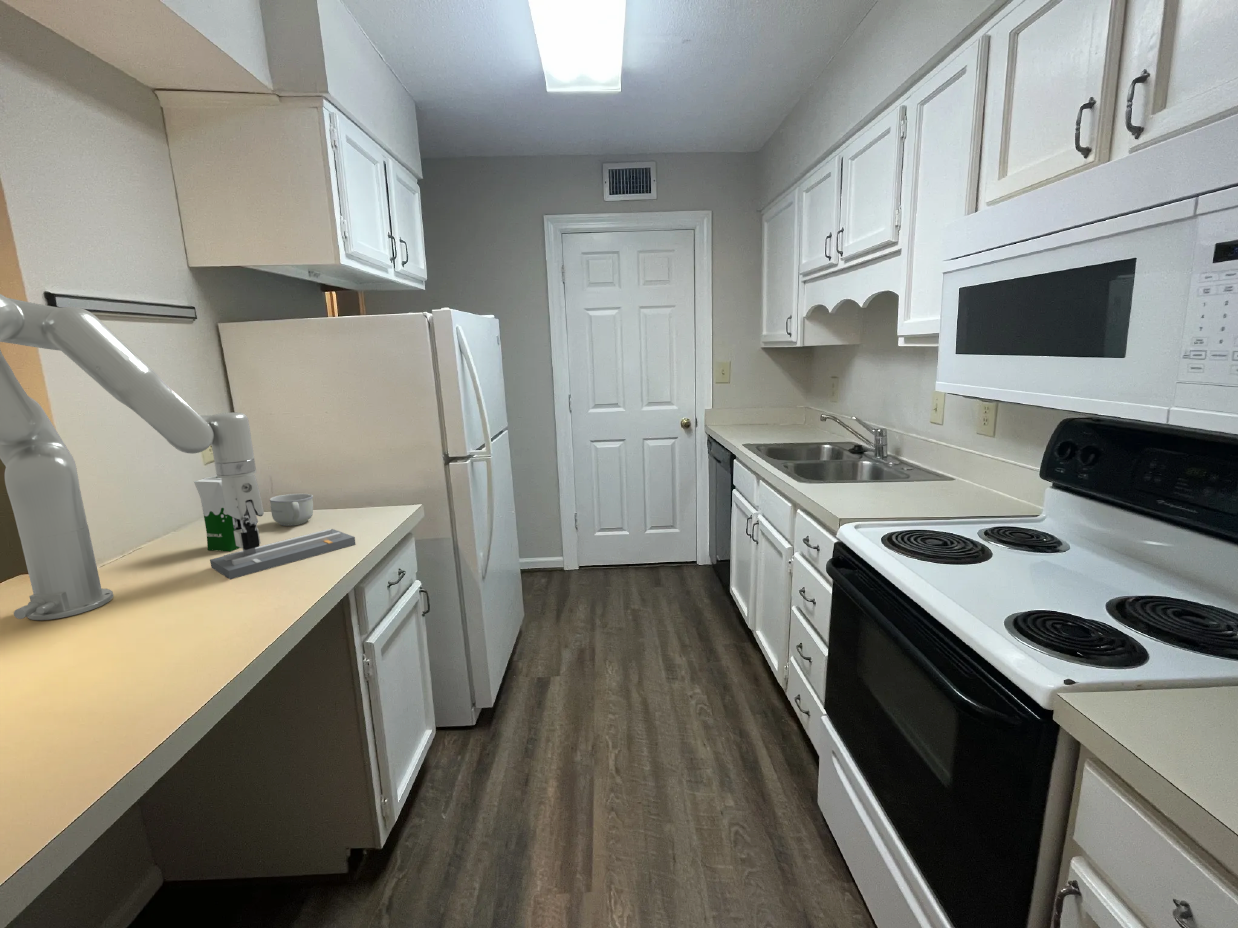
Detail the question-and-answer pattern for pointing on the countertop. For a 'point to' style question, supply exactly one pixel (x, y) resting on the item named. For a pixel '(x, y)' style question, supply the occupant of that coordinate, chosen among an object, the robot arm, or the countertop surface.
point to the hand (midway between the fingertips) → (248, 545)
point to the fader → (239, 543)
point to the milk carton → (216, 515)
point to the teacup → (292, 508)
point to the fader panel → (281, 553)
